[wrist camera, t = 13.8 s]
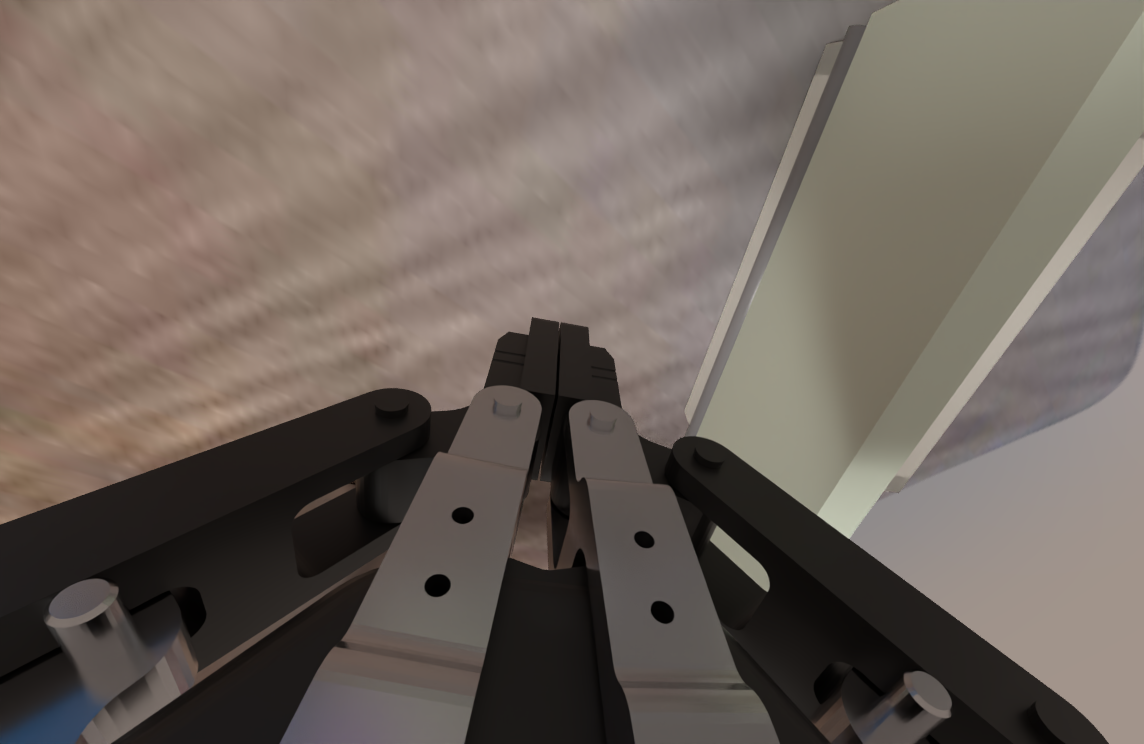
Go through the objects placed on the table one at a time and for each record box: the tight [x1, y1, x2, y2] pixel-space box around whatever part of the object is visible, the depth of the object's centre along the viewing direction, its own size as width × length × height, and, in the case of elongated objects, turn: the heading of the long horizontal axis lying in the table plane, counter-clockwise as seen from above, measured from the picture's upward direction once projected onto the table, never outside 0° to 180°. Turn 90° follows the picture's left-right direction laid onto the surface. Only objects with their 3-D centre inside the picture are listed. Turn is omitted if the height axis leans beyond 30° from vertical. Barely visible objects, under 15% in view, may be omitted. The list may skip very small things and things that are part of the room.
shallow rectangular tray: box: [684, 25, 1144, 493], centre depth 24 cm, size 20×14×5 cm
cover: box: [696, 0, 1144, 592], centre depth 16 cm, size 21×12×1 cm
